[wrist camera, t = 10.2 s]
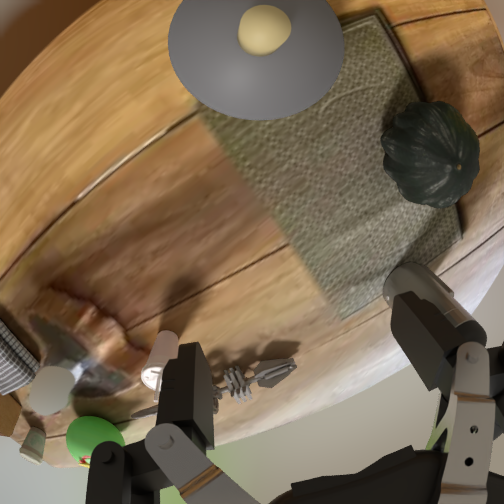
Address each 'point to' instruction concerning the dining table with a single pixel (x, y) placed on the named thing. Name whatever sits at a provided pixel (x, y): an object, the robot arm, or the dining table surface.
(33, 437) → the coffee cup
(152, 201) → the dining table surface
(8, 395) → the bread
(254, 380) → the spaceship
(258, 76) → the lid
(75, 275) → the dining table surface
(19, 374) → the towel
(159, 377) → the smoothie
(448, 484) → the robot arm
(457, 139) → the squash
